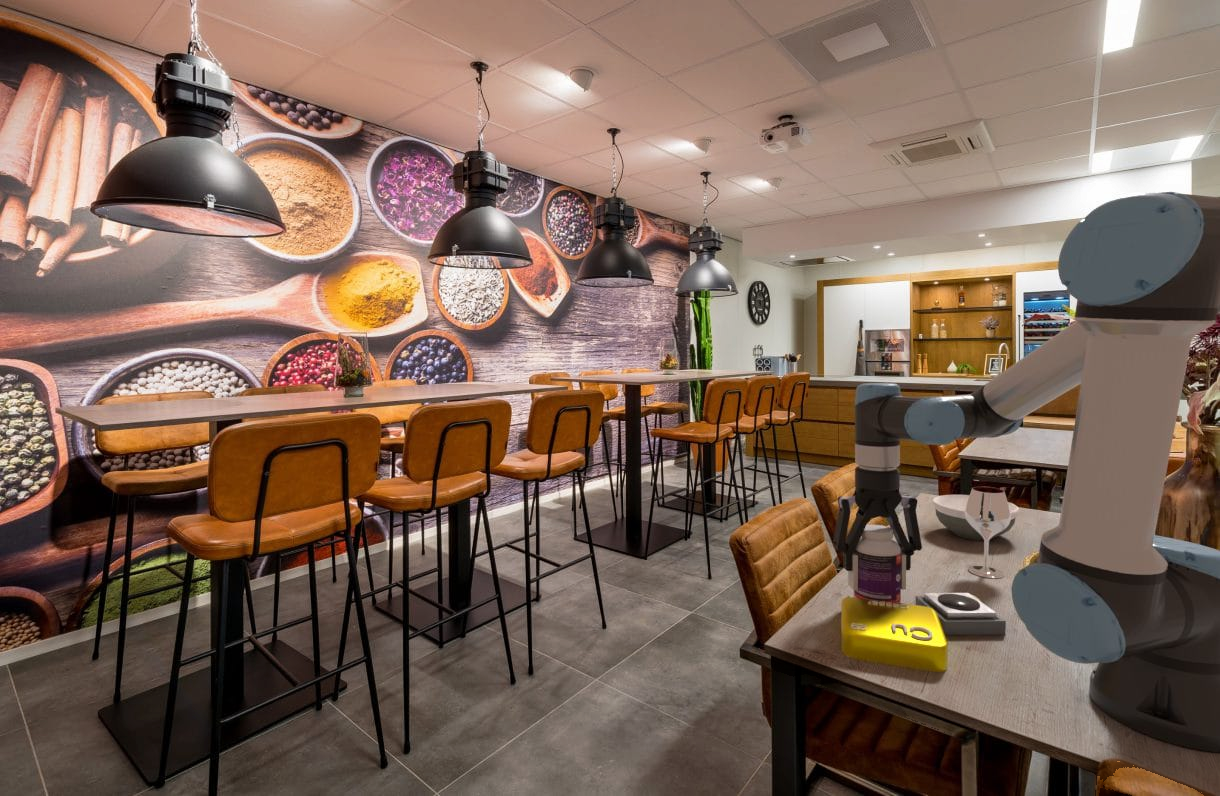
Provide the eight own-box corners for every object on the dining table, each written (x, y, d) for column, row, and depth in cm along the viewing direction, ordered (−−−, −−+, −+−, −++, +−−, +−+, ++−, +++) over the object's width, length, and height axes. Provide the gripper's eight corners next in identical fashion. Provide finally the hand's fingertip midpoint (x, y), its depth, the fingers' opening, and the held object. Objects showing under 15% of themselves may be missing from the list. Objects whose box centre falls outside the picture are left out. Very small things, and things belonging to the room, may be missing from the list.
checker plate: (995, 624, 97) (996, 611, 97) (947, 624, 98) (947, 611, 97) (968, 603, 105) (968, 591, 105) (923, 603, 106) (924, 592, 105)
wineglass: (969, 578, 120) (971, 493, 119) (958, 563, 128) (960, 484, 126) (1015, 581, 118) (1017, 495, 116) (1000, 567, 125) (1003, 486, 124)
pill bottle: (906, 614, 103) (907, 536, 102) (858, 611, 104) (858, 534, 103) (893, 596, 111) (894, 523, 110) (849, 594, 112) (849, 521, 111)
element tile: (934, 630, 99) (935, 603, 99) (949, 676, 85) (950, 645, 85) (841, 617, 105) (841, 592, 104) (841, 659, 91) (841, 630, 91)
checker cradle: (1005, 634, 96) (1005, 618, 96) (944, 635, 97) (945, 618, 97) (970, 608, 106) (970, 593, 106) (915, 608, 107) (915, 593, 106)
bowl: (918, 524, 157) (918, 494, 156) (988, 523, 156) (989, 493, 155) (956, 547, 138) (957, 514, 138) (1036, 546, 137) (1037, 513, 137)
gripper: (924, 461, 109) (923, 578, 111) (813, 464, 110) (813, 579, 111) (945, 469, 102) (944, 594, 103) (826, 471, 102) (827, 595, 104)
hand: (876, 586), depth 107 cm, fingers closed on pill bottle, 8 cm apart
